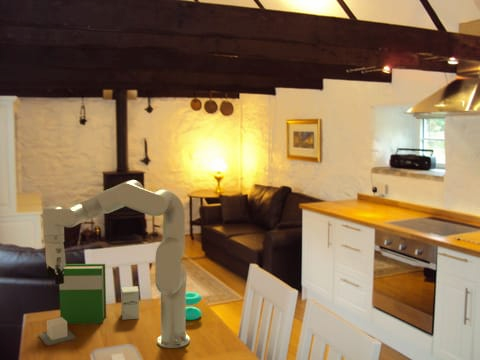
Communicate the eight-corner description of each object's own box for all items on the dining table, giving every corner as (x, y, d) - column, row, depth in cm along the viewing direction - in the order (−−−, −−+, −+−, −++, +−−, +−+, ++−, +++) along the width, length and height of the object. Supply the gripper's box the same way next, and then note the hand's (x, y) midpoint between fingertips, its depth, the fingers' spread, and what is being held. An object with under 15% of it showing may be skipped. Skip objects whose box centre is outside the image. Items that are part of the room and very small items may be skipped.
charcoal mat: (75, 338, 199) (75, 336, 198) (47, 346, 192) (47, 344, 192) (66, 329, 207) (66, 327, 207) (38, 336, 200) (38, 334, 200)
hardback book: (106, 316, 222) (105, 263, 219) (102, 323, 214) (101, 268, 212) (65, 317, 220) (63, 264, 218) (60, 324, 213) (58, 269, 210)
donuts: (204, 297, 219) (182, 300, 215) (204, 319, 220) (182, 322, 216) (197, 290, 228) (175, 292, 224) (197, 311, 229) (176, 314, 225)
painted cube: (67, 336, 199) (67, 321, 198) (52, 340, 195) (51, 325, 195) (62, 331, 204) (61, 317, 203) (47, 335, 200) (46, 320, 199)
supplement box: (122, 320, 218) (121, 292, 216) (121, 314, 225) (120, 286, 223) (139, 318, 219) (139, 290, 218) (138, 312, 227) (137, 285, 225)
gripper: (71, 241, 191) (72, 284, 192) (56, 233, 204) (57, 274, 206) (51, 243, 186) (52, 288, 188) (37, 235, 200) (38, 277, 201)
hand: (55, 280), depth 197 cm, fingers open, 9 cm apart
